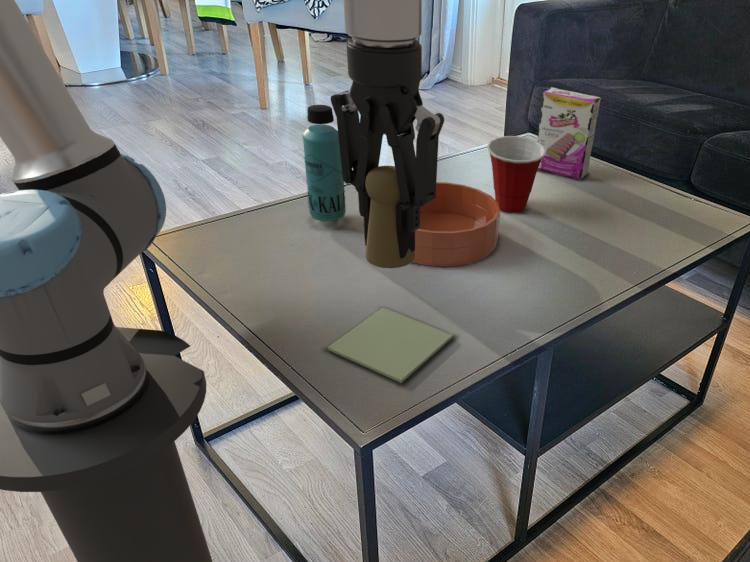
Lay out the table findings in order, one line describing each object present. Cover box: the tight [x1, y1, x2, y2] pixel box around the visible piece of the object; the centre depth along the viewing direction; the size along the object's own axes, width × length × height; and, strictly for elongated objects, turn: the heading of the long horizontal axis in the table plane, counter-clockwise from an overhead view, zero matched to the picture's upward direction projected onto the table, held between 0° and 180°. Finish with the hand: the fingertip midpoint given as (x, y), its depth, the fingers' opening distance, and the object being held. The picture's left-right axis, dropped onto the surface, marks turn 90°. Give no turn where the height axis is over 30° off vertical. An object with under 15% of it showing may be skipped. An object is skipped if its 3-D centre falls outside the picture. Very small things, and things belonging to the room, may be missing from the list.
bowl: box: [411, 181, 501, 267], centre depth 111 cm, size 20×20×6 cm
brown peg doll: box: [364, 165, 415, 269], centre depth 76 cm, size 6×6×11 cm
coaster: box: [327, 307, 454, 384], centre depth 88 cm, size 12×12×1 cm
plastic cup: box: [486, 135, 546, 214], centre depth 121 cm, size 11×11×12 cm
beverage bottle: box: [301, 104, 347, 222], centre depth 109 cm, size 6×7×20 cm
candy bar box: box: [536, 86, 602, 181], centre depth 136 cm, size 11×5×16 cm, turn 65°
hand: (390, 247), depth 79 cm, fingers closed on brown peg doll, 4 cm apart
